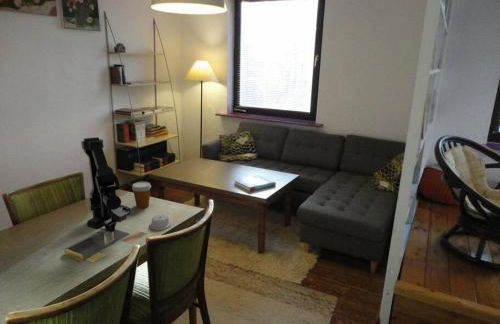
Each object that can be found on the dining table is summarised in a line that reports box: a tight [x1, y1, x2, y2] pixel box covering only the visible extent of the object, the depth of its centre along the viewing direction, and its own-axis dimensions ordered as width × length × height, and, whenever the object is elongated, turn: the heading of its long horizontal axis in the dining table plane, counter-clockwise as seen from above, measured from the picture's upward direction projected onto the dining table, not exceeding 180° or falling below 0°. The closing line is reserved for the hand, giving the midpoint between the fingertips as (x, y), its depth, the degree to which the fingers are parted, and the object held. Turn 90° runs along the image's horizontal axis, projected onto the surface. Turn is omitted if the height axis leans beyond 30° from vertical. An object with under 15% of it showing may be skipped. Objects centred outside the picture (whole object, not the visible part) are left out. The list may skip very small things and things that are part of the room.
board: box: [120, 230, 148, 244], centre depth 153 cm, size 6×10×1 cm, turn 153°
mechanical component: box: [149, 213, 173, 231], centre depth 164 cm, size 10×4×10 cm
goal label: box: [85, 252, 106, 264], centre depth 137 cm, size 4×6×1 cm, turn 153°
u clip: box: [91, 227, 114, 246], centre depth 148 cm, size 7×5×4 cm
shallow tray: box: [63, 227, 130, 263], centre depth 147 cm, size 10×25×2 cm, turn 153°
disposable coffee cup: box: [131, 181, 152, 209], centre depth 183 cm, size 10×10×12 cm
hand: (111, 234), depth 152 cm, fingers closed
